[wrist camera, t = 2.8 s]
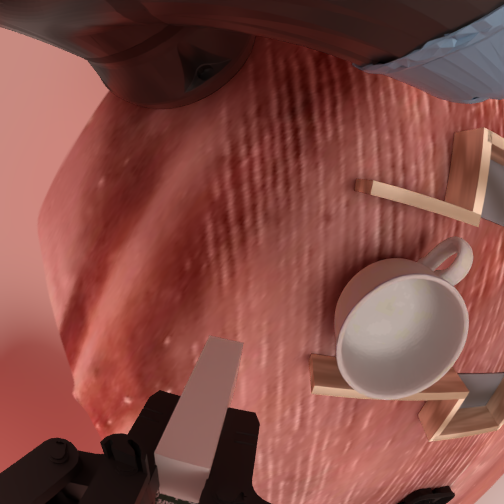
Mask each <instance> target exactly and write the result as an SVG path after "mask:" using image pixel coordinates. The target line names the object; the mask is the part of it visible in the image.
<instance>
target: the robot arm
mask: <svg viewBox="0 0 504 504" xmlns="http://www.w3.org/2000/svg"><path fill="white" fill-rule="evenodd" d="M0 27H2V28H5V29H9V30H12V31H15V32H18V33H21V34H24V35H26V36H29V37H32V38H35V39H37V40H40V41H43V42H45V43H48V44H50V45H53V46H55V47H58V48H61V49H63V50H65V51H67V52H70V53H72V54H75V55H77V56H80V57H82V58H84V59H86V60H88V62H89V63H90V64H91V66H92V67H93V68H94V70H95V71H96V72H97V74H98V75H99V76H100V78H101V80H102V81H103V83H104V84H105V86H106V87H107V88H108V89H109V90H110V91H111V92H112V93H114V94H115V95H116V96H118V97H119V98H121V99H123V100H126V101H128V102H131V103H133V104H136V105H138V106H142V107H146V108H152V109H168V108H175V107H180V106H184V105H187V104H190V103H193V102H196V101H198V100H200V99H202V98H204V97H206V96H208V95H210V94H212V93H213V92H215V91H216V90H218V89H219V88H221V87H222V86H223V85H224V84H226V83H227V82H228V81H229V80H230V79H231V78H232V77H233V76H234V75H235V74H236V73H237V72H238V71H239V70H240V68H241V67H242V66H243V64H244V63H245V61H246V60H247V58H248V56H249V54H250V52H251V50H252V47H253V44H254V41H255V36H256V35H257V36H262V37H267V38H271V39H276V40H280V41H284V42H288V43H292V44H296V45H300V46H304V47H307V48H311V49H314V50H318V51H321V52H324V53H327V54H330V55H332V56H335V57H338V58H341V59H344V60H346V61H349V62H352V65H353V66H354V67H356V68H358V69H360V70H362V71H365V72H366V73H373V74H383V75H386V76H389V77H391V78H394V79H397V80H399V81H402V82H404V83H406V84H409V85H411V86H413V87H416V88H418V89H420V90H422V91H424V92H426V93H428V94H430V95H432V96H435V97H437V98H440V99H443V100H447V101H450V102H456V103H465V104H472V103H478V102H483V101H485V100H487V99H489V98H490V99H498V100H500V99H504V0H0ZM243 344H244V343H242V342H237V341H232V340H228V339H223V338H219V337H214V336H210V335H209V338H208V340H207V342H206V344H205V346H204V348H203V350H202V352H201V354H200V357H199V359H198V361H197V363H196V365H195V367H194V369H193V371H192V374H191V376H190V378H189V380H188V382H187V384H186V386H185V388H184V390H183V393H182V395H181V396H178V395H174V394H171V393H168V392H164V391H161V390H159V391H158V392H157V393H155V394H154V395H152V396H151V397H149V399H148V401H147V402H146V404H145V406H144V409H142V411H141V413H140V414H139V417H138V418H137V419H136V421H135V423H134V424H133V426H132V428H131V430H130V431H129V433H128V435H127V434H123V433H121V434H112V435H110V436H107V437H105V438H104V439H103V440H102V441H101V442H100V443H101V446H102V449H103V452H104V454H94V453H88V452H83V451H78V450H77V449H76V447H75V446H74V445H73V444H72V443H71V442H69V441H67V440H66V439H61V438H51V439H49V440H47V441H44V442H43V443H42V444H41V445H39V446H38V447H36V448H35V449H34V450H33V451H31V452H29V453H28V454H27V455H25V456H24V457H22V458H21V459H20V460H18V461H17V462H16V463H14V464H13V465H11V466H10V467H9V468H7V469H6V470H4V471H3V472H1V473H0V504H155V496H156V494H157V491H158V489H159V491H160V493H163V494H166V495H169V496H172V497H176V498H179V499H183V500H186V501H190V502H194V503H198V504H271V503H269V502H267V501H265V500H263V499H262V498H261V497H259V496H258V495H257V493H256V492H255V491H254V488H253V486H252V476H253V469H254V462H255V455H256V448H257V441H258V433H259V426H260V423H259V421H258V418H257V416H256V413H254V412H249V411H243V410H238V409H234V408H230V406H231V402H232V398H233V394H234V390H235V385H236V380H237V375H238V370H239V364H240V359H241V354H242V349H243Z"/></svg>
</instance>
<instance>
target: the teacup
mask: <svg viewBox="0 0 504 504" xmlns="http://www.w3.org/2000/svg"><path fill="white" fill-rule="evenodd" d="M455 253H457V257H456V259H455V260H454V262H453V263H452V264H451V266H450V267H449V268H447V269H445V270H436V271H434V270H435V269H436V268H437V267H438V266H439V265H440V264H441V263H442V262H444V261H445V260H446V259H447V258H448V257H450V256H451V255H453V254H455ZM472 262H473V252H472V249H471V247H470V245H469V244H468V243H467V242H466V241H465V240H463V239H462V238H460V237H450V238H448V239H446V240H444V241H442V242H441V243H439V244H438V245H437V246H436V247H435V248H434V249H433V250H432V251H431V252H429V253H428V254H427V255H426V256H425V257H423V258H420V259H419V260H418V261H417V262H415V261H412V260H408V259H403V258H390V259H384V260H380V261H377V262H375V263H372V264H370V265H368V266H367V267H365V268H363V269H362V270H360V271H359V272H358V273H357V274H356V275H355V276H354V277H353V278H352V279H351V280H350V281H349V282H348V283H347V285H346V286H345V288H344V289H343V291H342V293H341V295H340V297H339V300H338V302H337V306H336V310H335V318H334V330H335V339H336V360H337V365H338V368H339V371H340V373H341V375H342V377H343V378H344V380H345V381H346V382H347V383H348V384H349V386H351V387H352V388H353V389H354V390H355V391H357V392H358V393H360V394H363V395H365V396H367V397H371V398H374V399H383V400H392V399H400V398H404V397H408V396H411V395H413V394H416V393H419V392H421V391H423V390H425V389H427V388H428V387H430V386H431V385H433V384H434V383H436V382H437V381H438V380H439V379H440V378H442V377H443V376H444V375H445V374H446V373H447V372H448V371H449V369H450V368H451V367H452V366H453V365H454V363H455V361H456V360H457V358H458V357H459V355H460V353H461V351H462V349H463V347H464V345H465V342H466V338H467V333H468V326H469V320H468V311H467V308H466V305H465V302H464V300H463V298H462V297H461V295H460V294H459V292H458V291H457V290H456V289H455V287H454V285H455V284H457V283H459V282H460V281H461V280H462V279H463V278H464V277H465V276H466V274H467V273H468V272H469V270H470V268H471V265H472Z"/></svg>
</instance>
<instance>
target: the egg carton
mask: <svg viewBox="0 0 504 504" xmlns="http://www.w3.org/2000/svg"><path fill="white" fill-rule="evenodd" d="M454 496H455V494H454V493H453V492H452V491H451V489H450V487H449V486H445V487H440V488H437V489H435V490H434V491H432V490H431V488H427V489H419V490H417V491H414V492H413V493H411V494H410V495H408V496H407V497H406V498H405V499H404V502H402V503H398V504H446V503H448V502H449V501H450V500H451V499H453V498H454Z"/></svg>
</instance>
